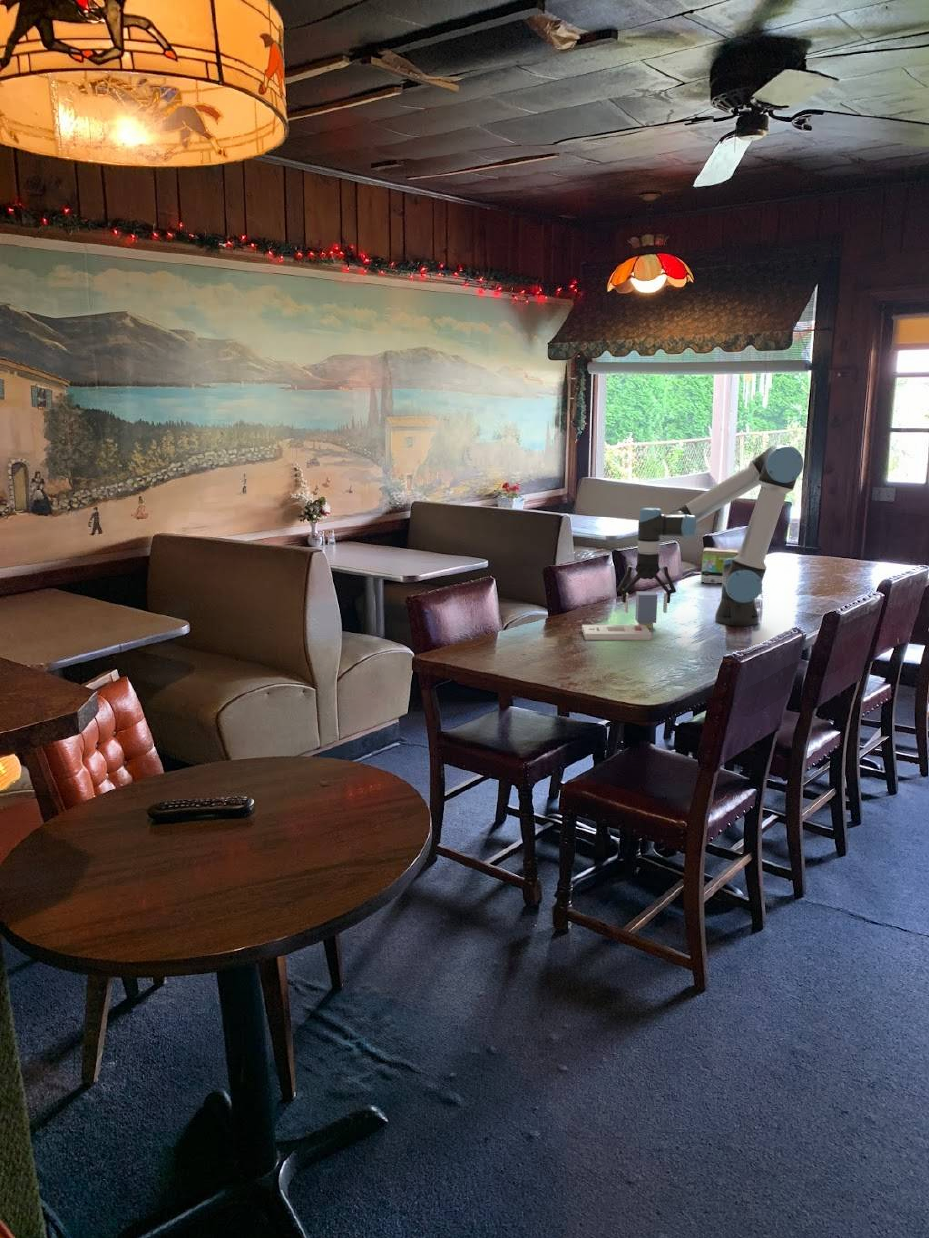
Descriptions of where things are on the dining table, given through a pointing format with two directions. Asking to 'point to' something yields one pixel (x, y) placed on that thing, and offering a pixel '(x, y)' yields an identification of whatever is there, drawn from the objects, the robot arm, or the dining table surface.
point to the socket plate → (616, 632)
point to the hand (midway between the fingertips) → (645, 612)
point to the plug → (646, 608)
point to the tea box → (715, 563)
